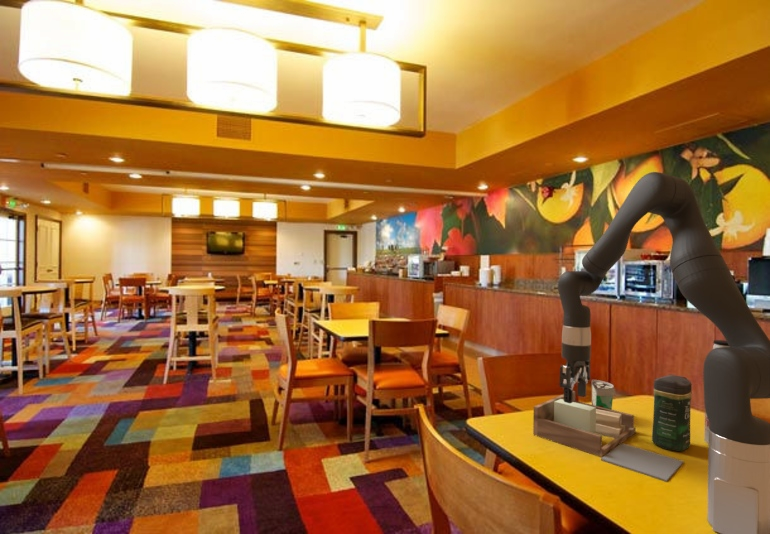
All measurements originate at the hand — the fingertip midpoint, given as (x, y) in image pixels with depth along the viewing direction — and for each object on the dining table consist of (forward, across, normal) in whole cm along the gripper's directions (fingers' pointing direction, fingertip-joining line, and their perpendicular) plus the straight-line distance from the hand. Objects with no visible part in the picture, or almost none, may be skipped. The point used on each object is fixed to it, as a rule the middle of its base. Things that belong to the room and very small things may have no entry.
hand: (574, 399), depth 121 cm
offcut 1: (+8, +10, -5) cm, 13 cm away
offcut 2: (+11, +9, -5) cm, 15 cm away
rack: (+10, +4, -1) cm, 11 cm away
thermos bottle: (+10, +26, -29) cm, 40 cm away
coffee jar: (+10, +14, -20) cm, 26 cm away
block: (+10, 0, 0) cm, 10 cm away
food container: (+11, +24, +1) cm, 26 cm away
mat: (+10, -3, -18) cm, 21 cm away
